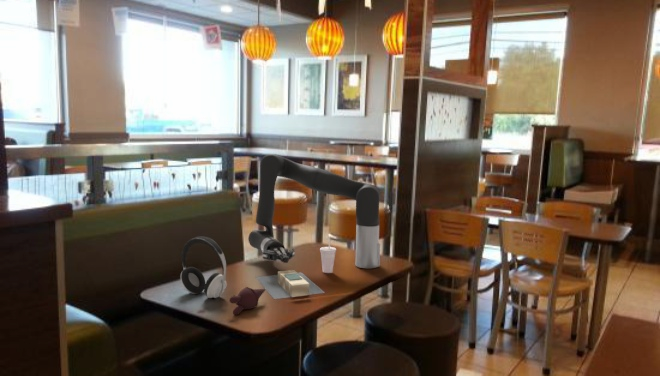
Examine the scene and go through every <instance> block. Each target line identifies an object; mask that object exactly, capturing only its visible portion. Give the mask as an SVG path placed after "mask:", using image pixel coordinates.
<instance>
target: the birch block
mask: <svg viewBox="0 0 660 376" xmlns="http://www.w3.org/2000/svg"><path fill="white" fill-rule="evenodd" d="M298 273H299V272H297V271H296V270H295V269H289V270H281V271H277V275H278V283H279V284H280V285H281V286H282V287H283V288H284V289H285V290H286V291H287V292H288V293H289V295H290V296H291V297H290V298H295V297H304V296H310V295H309V283H308V282H307V281H306V280H305V279H304V278H302V277H301V276H300V275H299V274H298Z"/></svg>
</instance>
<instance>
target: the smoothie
mask: <svg viewBox="0 0 660 376" xmlns="http://www.w3.org/2000/svg"><path fill="white" fill-rule="evenodd" d="M319 252H320V259H321V267H322V268H321V269H322V273H324V274H333V270H334V263H335V257H336V252H337V248H336V247H335V246H334V247H333V246H331V237H328V246H322V247H320V248H319Z"/></svg>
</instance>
